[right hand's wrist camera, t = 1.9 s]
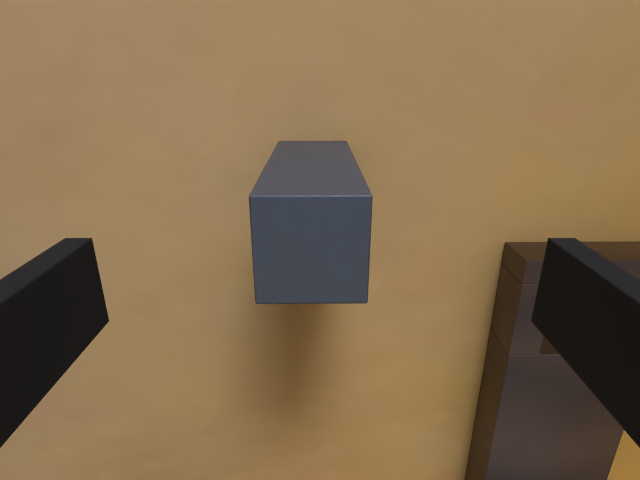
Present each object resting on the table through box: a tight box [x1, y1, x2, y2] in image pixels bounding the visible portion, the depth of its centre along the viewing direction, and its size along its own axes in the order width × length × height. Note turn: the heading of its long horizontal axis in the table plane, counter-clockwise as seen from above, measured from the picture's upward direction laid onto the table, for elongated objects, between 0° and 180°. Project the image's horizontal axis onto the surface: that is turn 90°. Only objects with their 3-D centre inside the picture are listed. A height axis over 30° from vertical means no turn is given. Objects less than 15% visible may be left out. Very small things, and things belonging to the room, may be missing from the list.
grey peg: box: [249, 141, 372, 304], centre depth 20 cm, size 4×4×12 cm
